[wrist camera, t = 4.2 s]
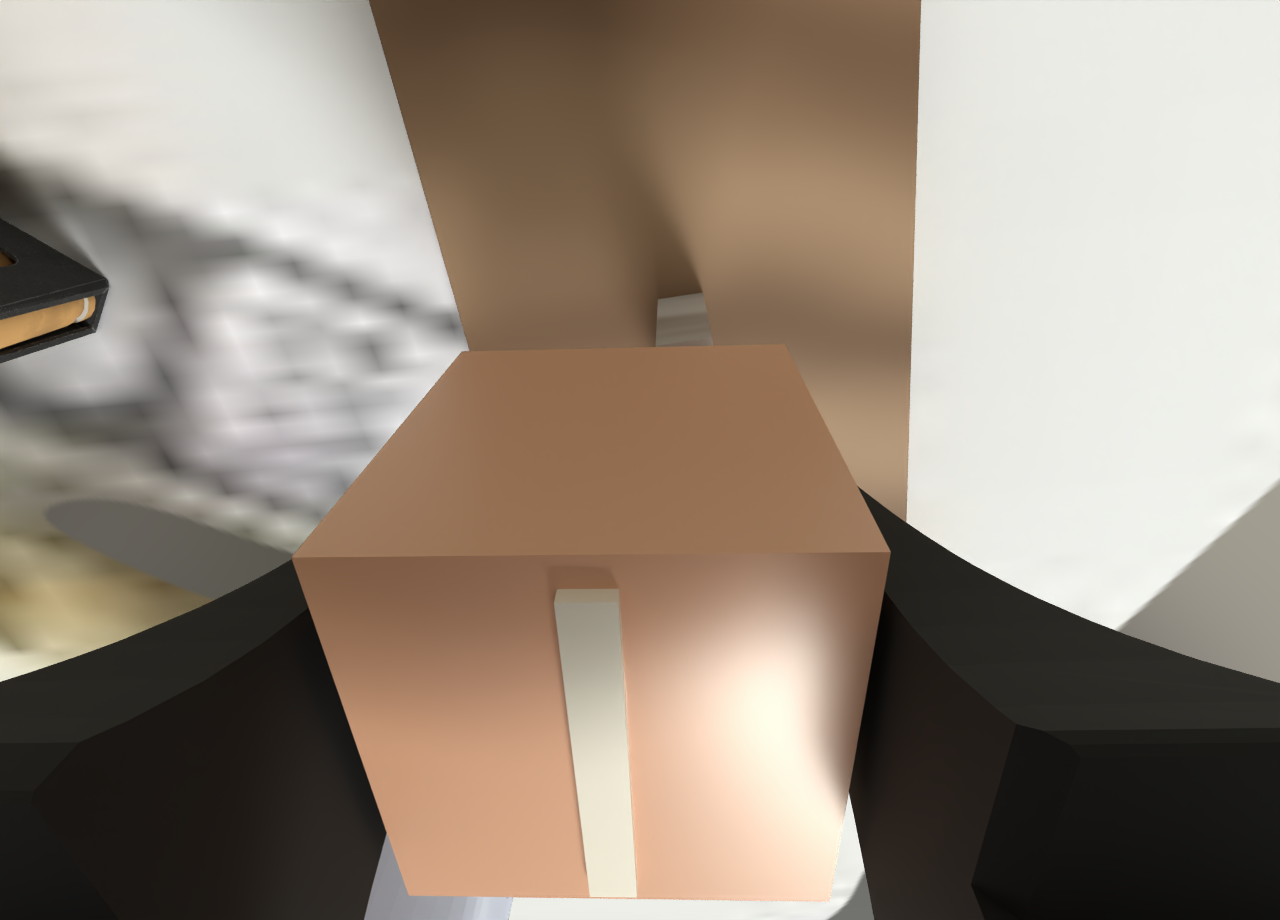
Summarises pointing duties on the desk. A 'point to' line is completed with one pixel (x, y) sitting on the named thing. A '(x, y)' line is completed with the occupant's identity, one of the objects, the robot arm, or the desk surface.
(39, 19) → the desk surface
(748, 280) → the mount
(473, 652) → the orange cube
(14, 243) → the ammunition clip
